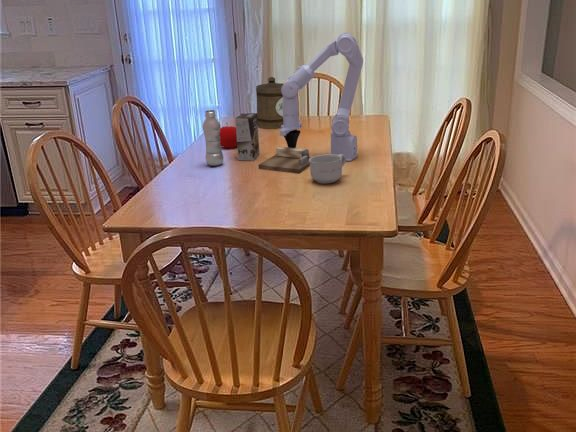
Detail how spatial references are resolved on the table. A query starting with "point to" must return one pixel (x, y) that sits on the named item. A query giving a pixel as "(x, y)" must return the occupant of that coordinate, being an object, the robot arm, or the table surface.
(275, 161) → the stool seat panel
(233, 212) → the table surface
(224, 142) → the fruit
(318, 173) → the teacup
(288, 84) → the robot arm
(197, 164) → the table surface
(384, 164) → the table surface
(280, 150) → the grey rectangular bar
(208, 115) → the plastic bottle
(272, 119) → the wooden container
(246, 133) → the coffee box
